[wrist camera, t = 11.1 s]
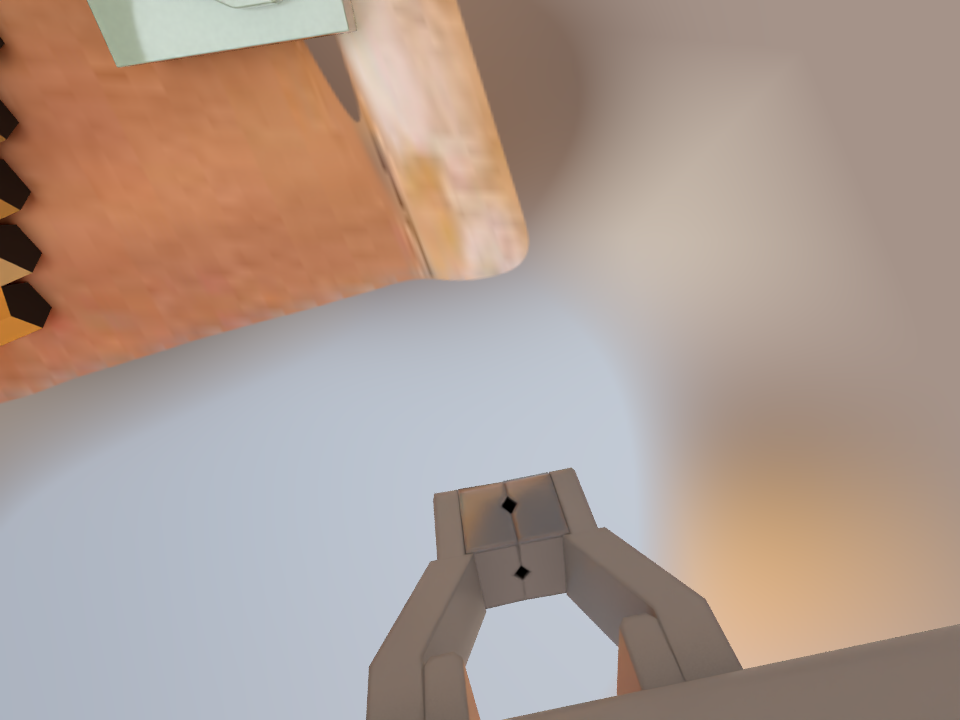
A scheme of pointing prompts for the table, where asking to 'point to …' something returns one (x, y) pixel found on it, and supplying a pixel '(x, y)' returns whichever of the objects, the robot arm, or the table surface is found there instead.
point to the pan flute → (16, 253)
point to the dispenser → (212, 25)
